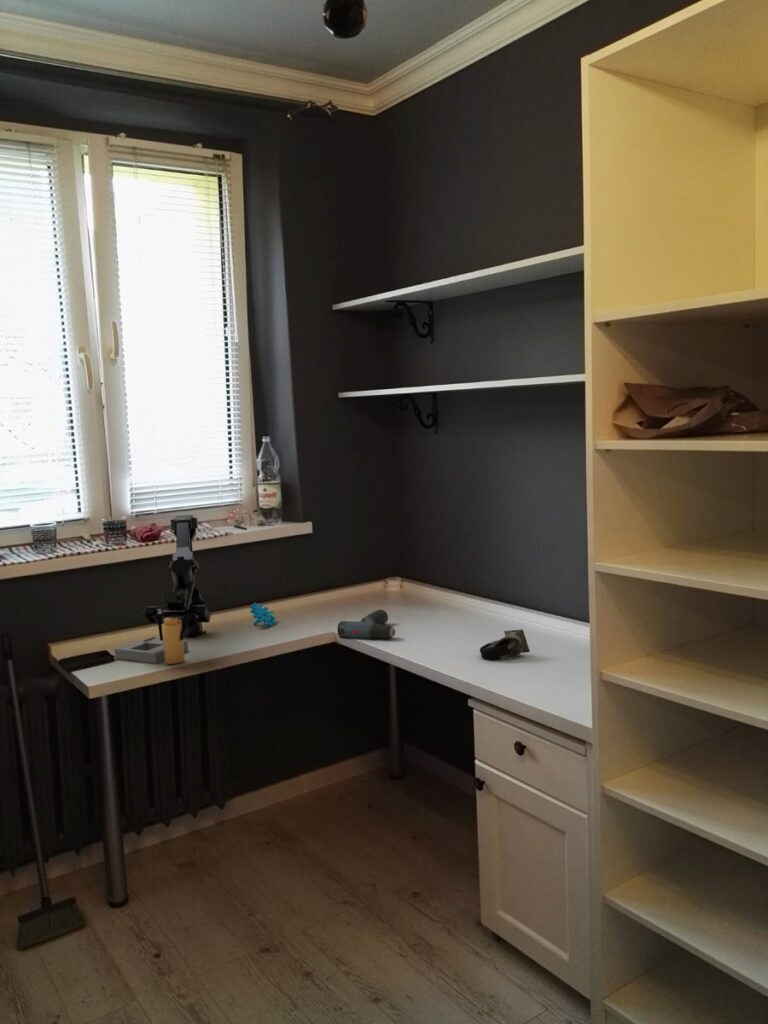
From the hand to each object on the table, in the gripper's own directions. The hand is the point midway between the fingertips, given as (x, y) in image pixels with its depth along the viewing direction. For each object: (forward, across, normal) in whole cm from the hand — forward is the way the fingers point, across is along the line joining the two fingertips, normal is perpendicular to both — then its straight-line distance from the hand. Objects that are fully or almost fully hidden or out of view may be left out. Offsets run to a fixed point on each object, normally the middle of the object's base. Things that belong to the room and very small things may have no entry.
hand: (171, 639), depth 249 cm
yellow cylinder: (+4, 0, +6) cm, 7 cm away
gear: (-25, +15, +36) cm, 46 cm away
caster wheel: (+3, +94, +7) cm, 94 cm away
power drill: (-17, +55, +28) cm, 64 cm away
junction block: (-2, -11, +12) cm, 16 cm away
